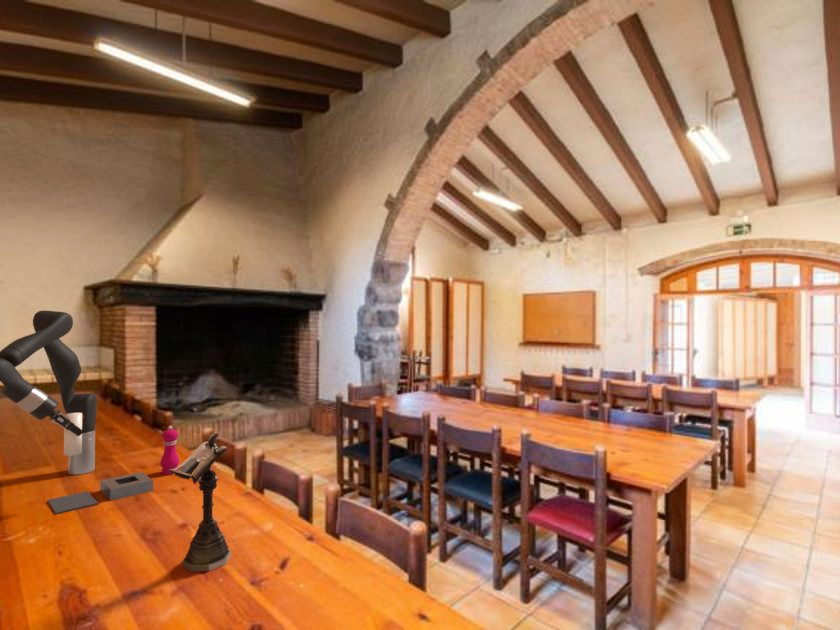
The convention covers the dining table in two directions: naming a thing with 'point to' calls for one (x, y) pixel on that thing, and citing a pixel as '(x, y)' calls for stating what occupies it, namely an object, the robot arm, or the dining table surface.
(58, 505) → the mat
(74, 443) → the plug
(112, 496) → the block
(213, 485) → the ornate lectern
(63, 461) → the dining table surface
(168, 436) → the pepper mill
